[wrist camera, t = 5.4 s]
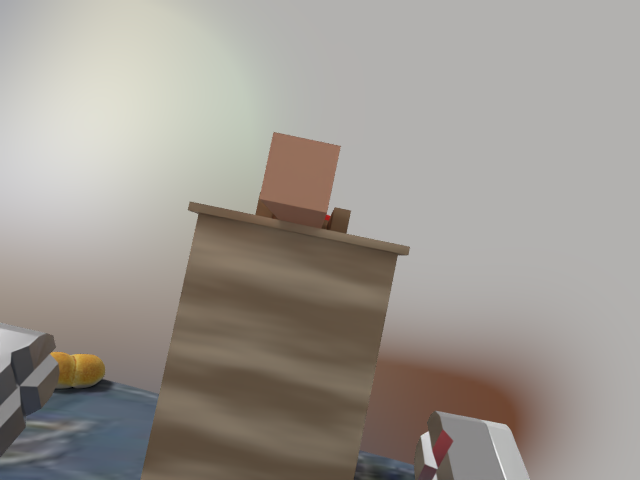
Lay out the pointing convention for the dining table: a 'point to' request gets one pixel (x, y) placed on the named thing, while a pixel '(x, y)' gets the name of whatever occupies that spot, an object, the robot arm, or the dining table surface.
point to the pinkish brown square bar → (299, 179)
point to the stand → (271, 350)
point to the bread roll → (78, 370)
